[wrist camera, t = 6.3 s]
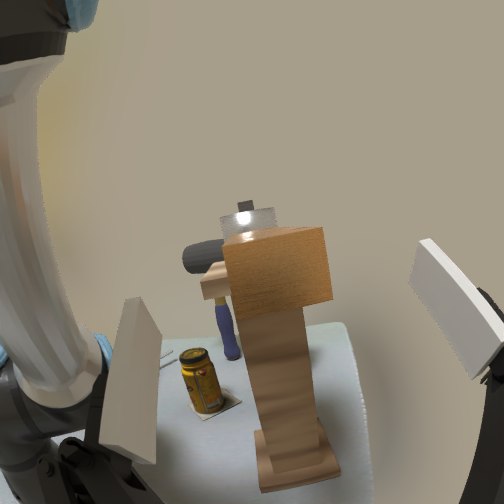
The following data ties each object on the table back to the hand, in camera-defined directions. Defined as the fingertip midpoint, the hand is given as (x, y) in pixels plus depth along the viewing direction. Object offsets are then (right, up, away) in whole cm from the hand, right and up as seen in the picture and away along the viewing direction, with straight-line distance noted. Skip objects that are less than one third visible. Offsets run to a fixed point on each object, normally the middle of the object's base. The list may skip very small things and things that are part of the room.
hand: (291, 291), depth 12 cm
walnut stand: (+4, -26, +18) cm, 33 cm away
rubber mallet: (-6, -25, +55) cm, 61 cm away
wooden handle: (-1, 0, +9) cm, 9 cm away
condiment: (-9, -28, +36) cm, 46 cm away
